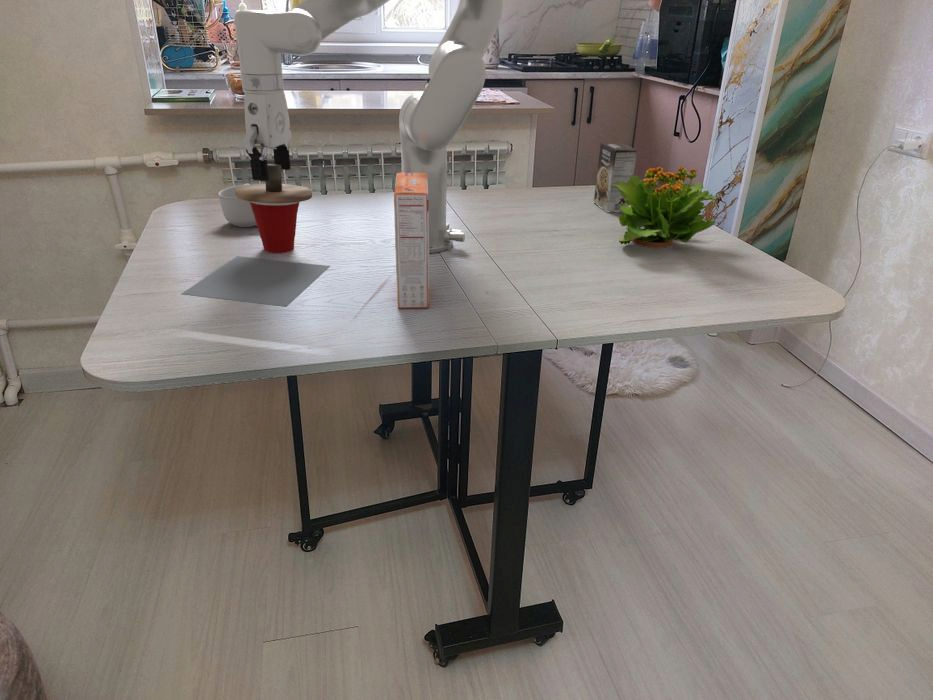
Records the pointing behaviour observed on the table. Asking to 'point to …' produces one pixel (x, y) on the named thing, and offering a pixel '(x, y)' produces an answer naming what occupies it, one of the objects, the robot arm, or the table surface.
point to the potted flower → (662, 208)
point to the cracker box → (412, 239)
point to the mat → (258, 281)
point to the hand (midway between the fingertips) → (272, 174)
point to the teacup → (236, 208)
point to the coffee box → (613, 174)
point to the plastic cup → (276, 225)
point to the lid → (273, 190)
